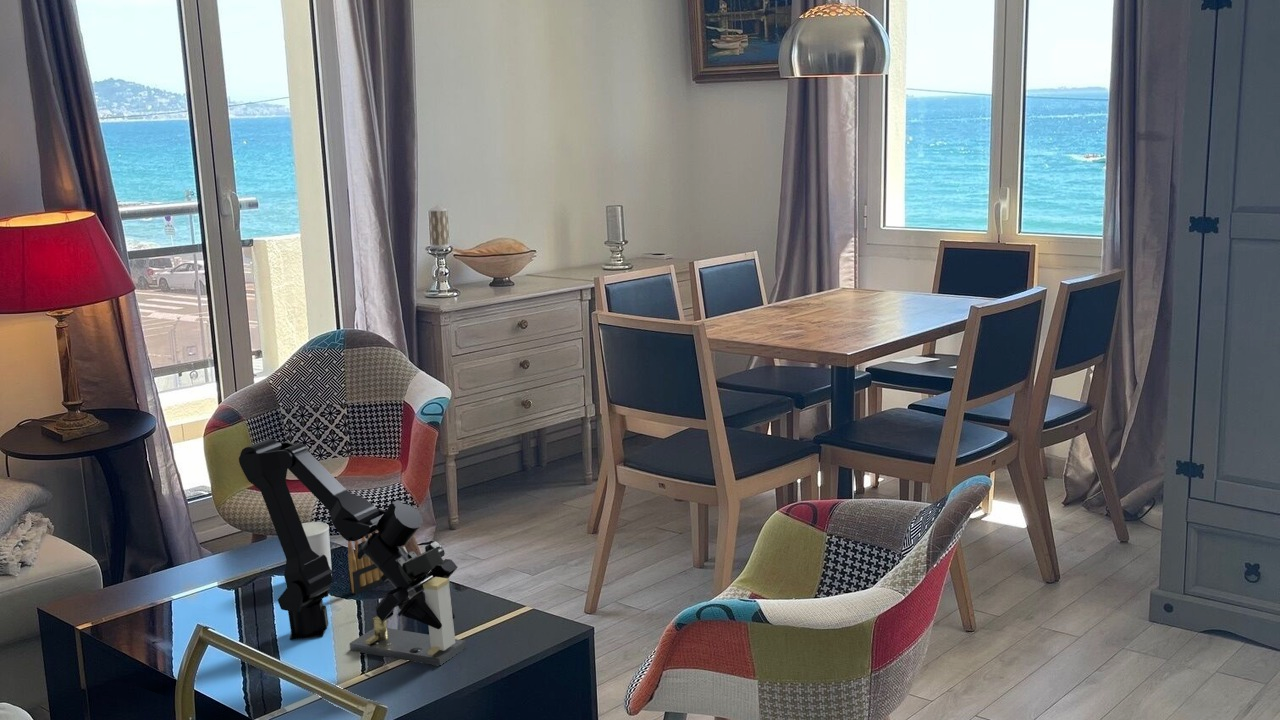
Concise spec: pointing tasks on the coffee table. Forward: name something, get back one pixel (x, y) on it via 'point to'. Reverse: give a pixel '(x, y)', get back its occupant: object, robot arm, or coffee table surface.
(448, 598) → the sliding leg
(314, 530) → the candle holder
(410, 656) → the plate
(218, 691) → the coffee table surface
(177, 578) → the coffee table surface
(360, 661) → the coffee table surface
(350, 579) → the ammunition clip
